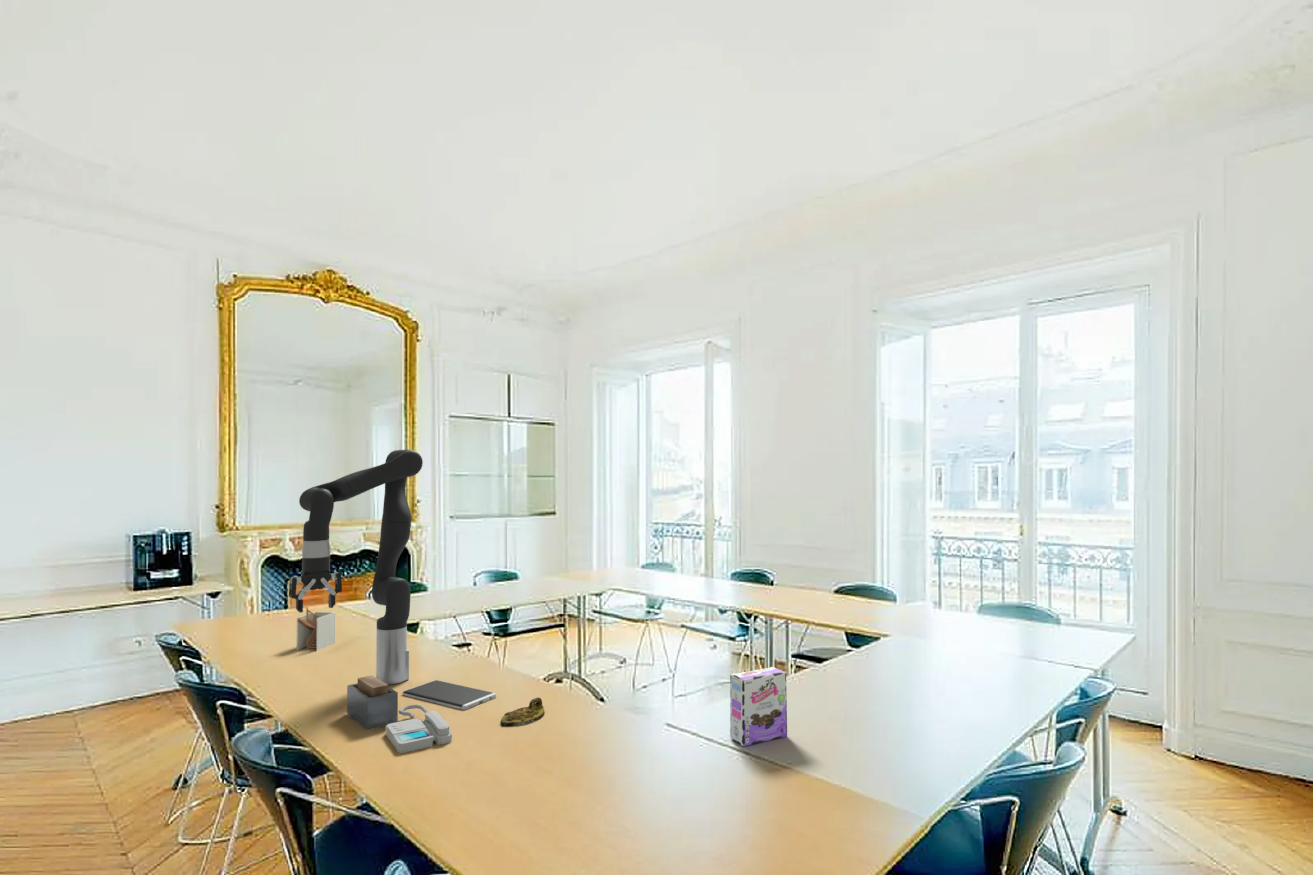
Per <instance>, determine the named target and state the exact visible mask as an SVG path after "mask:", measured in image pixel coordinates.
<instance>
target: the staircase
mask: <svg viewBox="0 0 1313 875" xmlns="http://www.w3.org/2000/svg"><path fill="white" fill-rule="evenodd" d="M334 644H336V612H334V611H333V612H332V611H314V612H312V611H310V610H309V608H308V607H306V613H305V614H304V615H301V616H298V617H296V651H298V650H301V649H303V648H306V651H315V650H318V651H320V650H322V649H326V648H328V647H330V646H332V645H334Z"/></svg>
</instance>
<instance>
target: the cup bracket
mask: <svg viewBox="0 0 1313 875" xmlns="http://www.w3.org/2000/svg"><path fill="white" fill-rule="evenodd" d="M346 689H347V690H346V691H347V692H346V696H347V697H346V699H347V700H346V715H347V716H348V717H350V718H351V719H353V721H355V722H356V723H358V724H359V725H360V726H362V727H363V728H365V730H367V731H369V730H372V729H373V730H374V729H377V728H381V727H386V726H387V725H388V724H390V723H395V722H399V720H398V719H399V718H398V717H399V709H398V708H399V707H398V706H399V704H398V702H399V701H398V700H399V692H397V691H396V690H394V689H392V688H391V687H389V686H388V694H384V695H379V696H375V697H371V698H370V697H369V696H367V695H366V694H364V693H363V692H361V691H360V690H358V682H356V683H353V684H347V686H346Z"/></svg>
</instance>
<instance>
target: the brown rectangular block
mask: <svg viewBox="0 0 1313 875" xmlns="http://www.w3.org/2000/svg"><path fill="white" fill-rule="evenodd" d="M357 683H358V690H360V691H361V692H363V693H364V694H366V695H367V696H369V697H370V698H371V697H375V696H379V695H384V694H388V687H389V684H388V685H387V684H386V683H384V682H382V681H381V680H379V679H377V678H376V676H374V675H366V676H362V677H358V678H357Z"/></svg>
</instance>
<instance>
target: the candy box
mask: <svg viewBox="0 0 1313 875" xmlns="http://www.w3.org/2000/svg"><path fill="white" fill-rule="evenodd" d="M729 676H730V679H729V680H730V684H729V685H730V687H729V689H730V692H729V693H730V695H729V697H730V699H729V700H730V705H729V706H730V711H729V712H730V718H729V719H730V730H729V732H730V735H729V736H730V739H731V740H732V741H734V742H735V743H737V744H739V745H740V746H741V747H748V746H752V745H754V744H761V743H764V742H768V741H773V740H778V739H781V738H782V739H783V738H785V737H788V716H787V715H788V713H787V712H788V710H787V709H788V706H787V705H788V704H787V703H788V702H787V672H786V671H784V670H782V669H779V668H776V667H774V666H769V667H765V668H762V669H761V668H760V669H754V670H750V671H744V672H737V673H730V674H729Z"/></svg>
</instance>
